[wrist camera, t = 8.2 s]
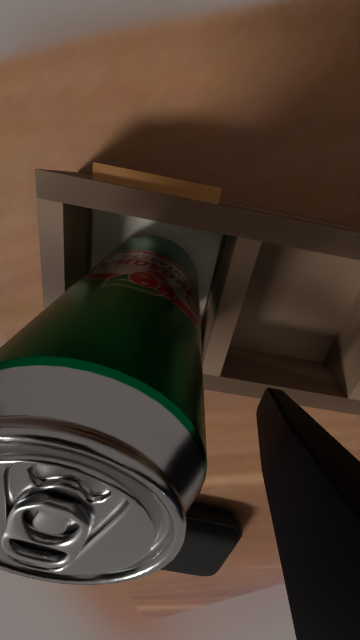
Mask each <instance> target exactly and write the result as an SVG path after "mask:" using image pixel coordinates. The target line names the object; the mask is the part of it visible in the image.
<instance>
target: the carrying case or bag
mask: <svg viewBox="0 0 360 640" xmlns="http://www.w3.org/2000/svg"><path fill="white" fill-rule="evenodd" d="M186 520H187V527H186V535H185V539H184V542H183V545H182V547H181V549H180V551H179V553H178V554H177V555H176V557H175V558H174V559H173V560H172V561H171V562H170V563H168V564H167V565H166V566H165V567H163V568H161V570H167V571H173V572H179V573H185V574H191V575H198V576H211V575H214V574H215V573H216V572H217V571H218V570H219V569H220V567H221V566H222V564H223V563H224V562H225V560H226V559H227V557H228V556H229V554H230V553H231V552H232V550H233V549H234V547H235V546H236V544H237V543H238V541H239V540H240V538H241V536H242V532H243V531H242V525H241V523H240V522H239V520H238V519H237V518H236V517H235V516H234V515H233V514H232V513H231V512H230V511H228V510H225V509H221V508H217V507H212V506H207V505H202V504H197V503H192V505H191V506H190V508H189V509H188V511H187V513H186Z"/></svg>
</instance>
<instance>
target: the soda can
mask: <svg viewBox="0 0 360 640" xmlns="http://www.w3.org/2000/svg"><path fill="white" fill-rule="evenodd" d="M206 470H207V450H206V429H205V408H204V386H203V365H202V343H201V322H200V301H199V281H198V274H197V270H196V267H195V265H194V263H193V261H192V259H191V258H190V256H189V255H188V254H187V253H186V252H185V250H184V249H182V248H181V247H180V246H179V245H178V244H176V243H174V242H172V241H171V240H168V239H166V238H163V237H159V236H153V235H144V236H137V237H134V238H131V239H129V240H127V241H125V242H123V243H122V244H120V245H119V246H118V247H117V248H115V249H114V250H113V251H112V252H111V253H110V254H108V255H107V256H106V257H105V258H104V259H103V260H101V261H100V262H99V263H98V264H97V265H96V266H95V267H93V268H92V269H91V270H90V271H89V272H88V273H86V274H85V275H84V276H83V277H82V278H81V279H79V280H78V281H77V282H76V283H75V284H74V285H72V286H71V287H70V288H69V289H68V290H67V291H65V292H64V293H63V294H62V295H61V296H60V297H58V298H57V299H56V300H55V301H54V302H53V303H51V304H50V305H49V306H48V307H47V308H46V309H45V310H43V311H42V312H41V313H40V314H39V315H38V316H36V317H35V318H34V319H33V320H32V321H31V322H29V323H28V324H27V325H26V326H25V327H24V328H22V329H21V330H20V331H19V332H18V333H17V334H15V335H14V336H13V337H12V338H11V339H10V340H8V341H7V342H6V343H5V344H4V345H3V346H1V347H0V569H2V570H4V571H7V572H10V573H13V574H17V575H20V576H25V577H28V578H32V579H37V580H42V581H48V582H55V583H61V584H74V585H99V584H100V585H101V584H112V583H119V582H126V581H130V580H134V579H138V578H141V577H144V576H147V575H149V574H152V573H154V572H156V571H158V570H159V569H161V568H163V567H165V566H166V565H167V564H168V563H170V562H171V561H172V560H173V559H174V558H175V557H176V555H177V554H178V553H179V551H180V549H181V547H182V545H183V542H184V539H185V535H186V527H187V520H186V513H187V511H188V509H189V508H190V506H191V505H192V503H193V502H194V500H195V499H196V497H197V495H198V494H199V492H200V491H201V488H202V486H203V483H204V481H205V478H206Z"/></svg>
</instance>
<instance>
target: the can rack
mask: <svg viewBox="0 0 360 640" xmlns="http://www.w3.org/2000/svg"><path fill="white" fill-rule="evenodd" d="M35 175H36V191H37V207H38V223H39V239H40V255H41V271H42V287H43V303H44V310H45V309H46V308H47V307H48V306H49V305H50V304H51V303H53V302H54V301H55V300H56V299H57V298H58V297H60V296H61V295H62V294H63V293H64V292H65V291H67V290H68V289H69V288H70V287H71V286H72V285H74V284H75V283H76V282H77V281H78V280H79V279H81V278H82V277H83V276H84V275H85V274H86V273H88V272H89V271H90V270H91V269H92V268H93V267H95V266H96V265H97V264H98V263H99V262H100V261H101V260H103V259H104V258H105V257H106V256H107V255H108V254H110V253H111V252H112V251H113V250H114V249H115V248H117V247H118V246H119V245H120V244H122V243H123V242H125V241H127V240H129V239H131V238H134V237H137V236H144V235H153V236H159V237H163V238H166V239H168V240H171V241H172V242H174V243H176V244H178V245H179V246H180V247H181V248H182V249H184V250H185V252H186V253H187V254H188V255H189V256H190V258H191V259H192V261H193V263H194V265H195V267H196V270H197V274H198V281H199V301H200V322H201V343H202V365H203V386H204V389H206V390H212V391H218V392H224V393H230V394H236V395H242V396H248V397H254V398H260V399H261V398H262V396H263V394H264V391H265V390H266V389H267V388H275V389H281V390H283V391H284V392H285V393H286V394H287V395H288V396H289V397H290V398H291V399H292V400H294V401H295V402H296V403H297V404H298V405H302V406H308V407H314V408H319V409H325V410H331V411H337V412H343V413H349V414H355V415H360V229H359V228H354V227H349V226H344V225H339V224H334V223H329V222H324V221H319V220H314V219H309V218H304V217H299V216H294V215H289V214H284V213H279V212H274V211H269V210H264V209H259V208H254V207H249V206H244V205H238V204H233V203H228V202H223V201H219V200H220V196H221V191H222V188H220V187H215V186H210V185H205V184H200V183H195V182H190V181H185V180H180V179H175V178H170V177H165V176H160V175H155V174H150V173H145V172H140V171H135V170H130V169H126V168H121V167H116V166H111V165H106V164H101V163H96V162H93V175H88V174H83V173H78V172H67V171H55V170H42V169H35Z"/></svg>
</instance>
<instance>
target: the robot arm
mask: <svg viewBox="0 0 360 640" xmlns="http://www.w3.org/2000/svg"><path fill="white" fill-rule="evenodd" d="M256 416H257V427H258V437H259V448H260V458H261V466H262V473H263V478H264V483H265V488H266V493H267V498H268V503H269V507H270V512H271V517H272V522H273V527H274V532H275V537H276V541H277V546H278V551H279V556H280V561H281V566H282V571H283V576H284V580H285V585H286V590H287V595H288V600H289V605H290V610H291V614H292V619H293V624H294V629H295V634H296V639H297V640H360V461H358V460H357V459H356V458H355V457H354V456H353V455H352V454H351V453H350V452H349V451H348V450H347V449H345V448H344V447H343V446H342V445H341V444H340V443H339V442H338V441H337V440H336V439H335V438H334V437H332V436H331V435H330V434H329V433H328V432H327V431H326V430H325V429H324V428H323V427H322V426H321V425H319V424H318V423H317V422H316V421H315V420H314V419H313V418H312V417H311V416H310V415H309V414H308V413H307V412H305V411H304V410H303V409H302V408H301V407H300V406H299V405H298V404H297V403H296V402H295V401H294V400H292V399H291V398H290V397H289V396H288V395H287V394H286V393H285V392H284V391H283V390H281V389H275V388H267V389H266V390H265V391H264V394H263V396H262V398H261V401H260V403H259V405H258V408H257V414H256Z"/></svg>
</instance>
